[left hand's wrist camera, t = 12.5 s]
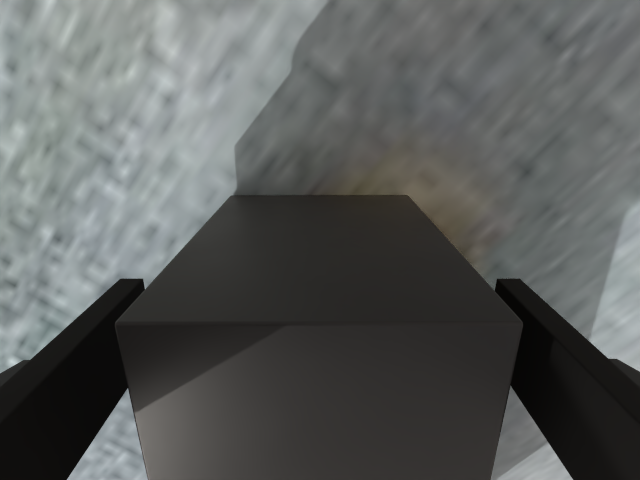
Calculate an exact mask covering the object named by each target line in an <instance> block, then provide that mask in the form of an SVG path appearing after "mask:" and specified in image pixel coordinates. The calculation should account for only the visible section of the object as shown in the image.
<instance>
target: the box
mask: <svg viewBox="0 0 640 480" xmlns="http://www.w3.org/2000/svg"><path fill="white" fill-rule="evenodd" d="M522 328H523V322H522V321H521V320H520V319H519V317H518V316H517V315H516V314H515V313H514V312H513V311H512V310H511V309H510V308H509V306H508V305H507V304H506V303H505V302H504V301H503V300H502V299H501V298H500V297H499V295H498V294H497V293H496V292H495V291H494V290H493V289H492V288H491V287H490V285H489V284H488V283H487V282H486V281H485V280H484V279H483V278H482V277H481V276H480V274H479V273H478V272H477V271H476V270H475V269H474V268H473V267H472V266H471V265H470V263H469V262H468V261H467V260H466V259H465V258H464V257H463V256H462V255H461V253H460V252H459V251H458V250H457V249H456V248H455V247H454V246H453V245H452V244H451V242H450V241H449V240H448V239H447V238H446V237H445V236H444V235H443V234H442V233H441V231H440V230H439V229H438V228H437V227H436V226H435V225H434V224H433V223H432V221H431V220H430V219H429V218H428V217H427V216H426V215H425V214H424V213H423V212H422V210H421V209H420V208H419V207H418V206H417V205H416V204H415V203H414V202H413V201H412V199H411V198H410V197H409V196H407V195H288V196H230V197H229V198H228V199H227V201H226V202H225V203H224V204H223V205H222V206H221V207H220V208H219V209H218V210H217V211H216V213H215V214H214V215H213V216H212V217H211V218H210V219H209V220H208V221H207V222H206V224H205V225H204V226H203V227H202V228H201V229H200V230H199V231H198V232H197V233H196V234H195V236H194V237H193V238H192V239H191V240H190V241H189V242H188V243H187V244H186V245H185V246H184V248H183V249H182V250H181V251H180V252H179V253H178V254H177V255H176V256H175V257H174V259H173V260H172V261H171V262H170V263H169V264H168V265H167V266H166V267H165V268H164V269H163V271H162V272H161V273H160V274H159V275H158V276H157V277H156V278H155V279H154V280H153V282H152V283H151V284H150V285H149V286H148V287H147V288H146V289H145V290H144V291H143V292H142V294H141V295H140V296H139V297H138V298H137V299H136V300H135V301H134V302H133V303H132V304H131V306H130V307H129V308H128V309H127V310H126V311H125V312H124V313H123V314H122V315H121V317H120V318H119V319H118V320H117V321H116V322H115V329H116V334H117V339H118V343H119V348H120V352H121V357H122V362H123V366H124V371H125V376H126V380H127V385H128V389H129V394H130V399H131V403H132V408H133V412H134V417H135V422H136V426H137V431H138V436H139V440H140V445H141V449H142V454H143V459H144V463H145V468H146V472H147V477H148V480H490V479H491V474H492V469H493V465H494V460H495V455H496V450H497V446H498V441H499V436H500V432H501V427H502V422H503V418H504V413H505V408H506V403H507V399H508V394H509V389H510V385H511V380H512V375H513V370H514V366H515V361H516V356H517V352H518V347H519V342H520V338H521V333H522Z"/></svg>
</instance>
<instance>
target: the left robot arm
mask: <svg viewBox="0 0 640 480" xmlns="http://www.w3.org/2000/svg"><path fill="white" fill-rule="evenodd" d="M144 290H145V288H144V282H143V279H120V280H119V281H117V282H116V283H115V284H114V285H113V286H112V287H111V288H110V289H109V290H107V291H106V292H105V293H104V294H103V295H102V296H101V297H100V298H99V299H97V300H96V301H95V302H94V303H93V304H92V305H91V306H90V307H89V308H87V309H86V310H85V311H84V312H83V313H82V314H81V315H80V316H79V317H77V318H76V319H75V320H74V321H73V322H72V323H71V324H70V325H69V326H68V327H66V328H65V329H64V330H63V331H62V332H61V333H60V334H59V335H58V336H56V337H55V338H54V339H53V340H52V341H51V342H50V343H49V344H48V345H46V346H45V347H44V348H43V349H42V350H41V351H40V352H39V353H38V354H36V355H35V356H34V357H33V358H32V359H31V360H23V361H21V362H20V363H18V364H16V365H14V366H13V367H11V368H9V369H7V370H6V371H4V372H2V373H0V480H67V478H68V477H69V475H70V474H71V472H72V471H73V469H74V468H75V466H76V465H77V463H78V462H79V460H80V459H81V457H82V456H83V454H84V453H85V451H86V450H87V448H88V447H89V445H90V444H91V442H92V441H93V439H94V438H95V436H96V435H97V433H98V432H99V430H100V429H101V427H102V426H103V424H104V423H105V421H106V420H107V418H108V417H109V415H110V414H111V412H112V411H113V409H114V408H115V406H116V405H117V403H118V402H119V400H120V399H121V397H122V396H123V394H124V393H125V391H126V390H127V388H128V385H127V380H126V376H125V371H124V366H123V362H122V357H121V352H120V348H119V343H118V339H117V334H116V329H115V322H116V321H117V320H118V319H119V318H120V317H121V315H122V314H123V313H124V312H125V311H126V310H127V309H128V308H129V307H130V306H131V304H132V303H133V302H134V301H135V300H136V299H137V298H138V297H139V296H140V295H141V294H142V292H143V291H144ZM495 292H496V293H497V294H498V295H499V297H500V298H501V299H502V300H503V301H504V302H505V303H506V304H507V305H508V306H509V308H510V309H511V310H512V311H513V312H514V313H515V314H516V315H517V316H518V317H519V319H520V320H521V321H522V322H523V328H522V333H521V338H520V342H519V347H518V352H517V356H516V361H515V366H514V370H513V375H512V380H511V387H512V388H513V390H514V391H515V393H516V394H517V396H518V397H519V399H520V400H521V402H522V403H523V405H524V406H525V408H526V409H527V411H528V412H529V414H530V415H531V417H532V418H533V420H534V421H535V423H536V424H537V426H538V427H539V429H540V430H541V432H542V433H543V435H544V436H545V438H546V439H547V441H548V442H549V444H550V445H551V447H552V448H553V450H554V451H555V453H556V454H557V456H558V457H559V459H560V460H561V462H562V463H563V465H564V466H565V468H566V469H567V471H568V472H569V474H570V475H571V477H572V478H573V480H640V372H639V371H637V370H635V369H634V368H632V367H630V366H628V365H627V364H625V363H623V362H621V361H620V360H618V359H608V358H607V357H606V356H605V355H604V354H602V353H601V352H600V351H599V350H598V349H597V348H596V347H595V346H594V345H592V344H591V343H590V342H589V341H588V340H587V339H586V338H585V337H584V336H582V335H581V334H580V333H579V332H578V331H577V330H576V329H575V328H574V327H572V326H571V325H570V324H569V323H568V322H567V321H566V320H565V319H564V318H563V317H561V316H560V315H559V314H558V313H557V312H556V311H555V310H554V309H553V308H551V307H550V306H549V305H548V304H547V303H546V302H545V301H544V300H543V299H541V298H540V297H539V296H538V295H537V294H536V293H535V292H534V291H533V290H531V289H530V288H529V287H528V286H527V285H526V284H525V283H524V282H523V281H521V280H520V279H497V282H496V288H495Z"/></svg>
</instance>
